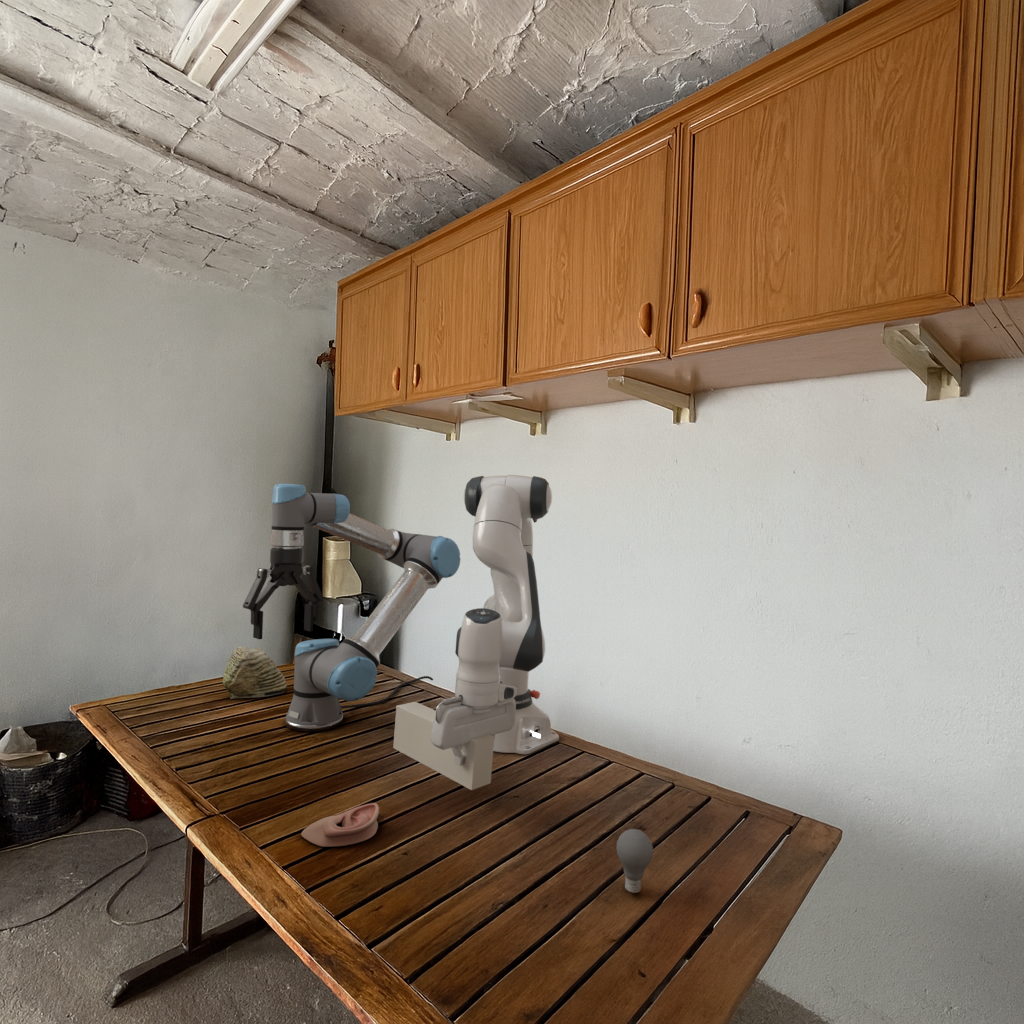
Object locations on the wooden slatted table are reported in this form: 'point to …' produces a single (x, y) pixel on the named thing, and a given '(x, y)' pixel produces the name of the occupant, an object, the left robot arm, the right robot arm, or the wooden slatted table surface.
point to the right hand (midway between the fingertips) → (472, 760)
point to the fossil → (252, 674)
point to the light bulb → (634, 857)
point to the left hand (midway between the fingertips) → (283, 634)
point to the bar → (417, 744)
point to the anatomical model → (344, 827)
